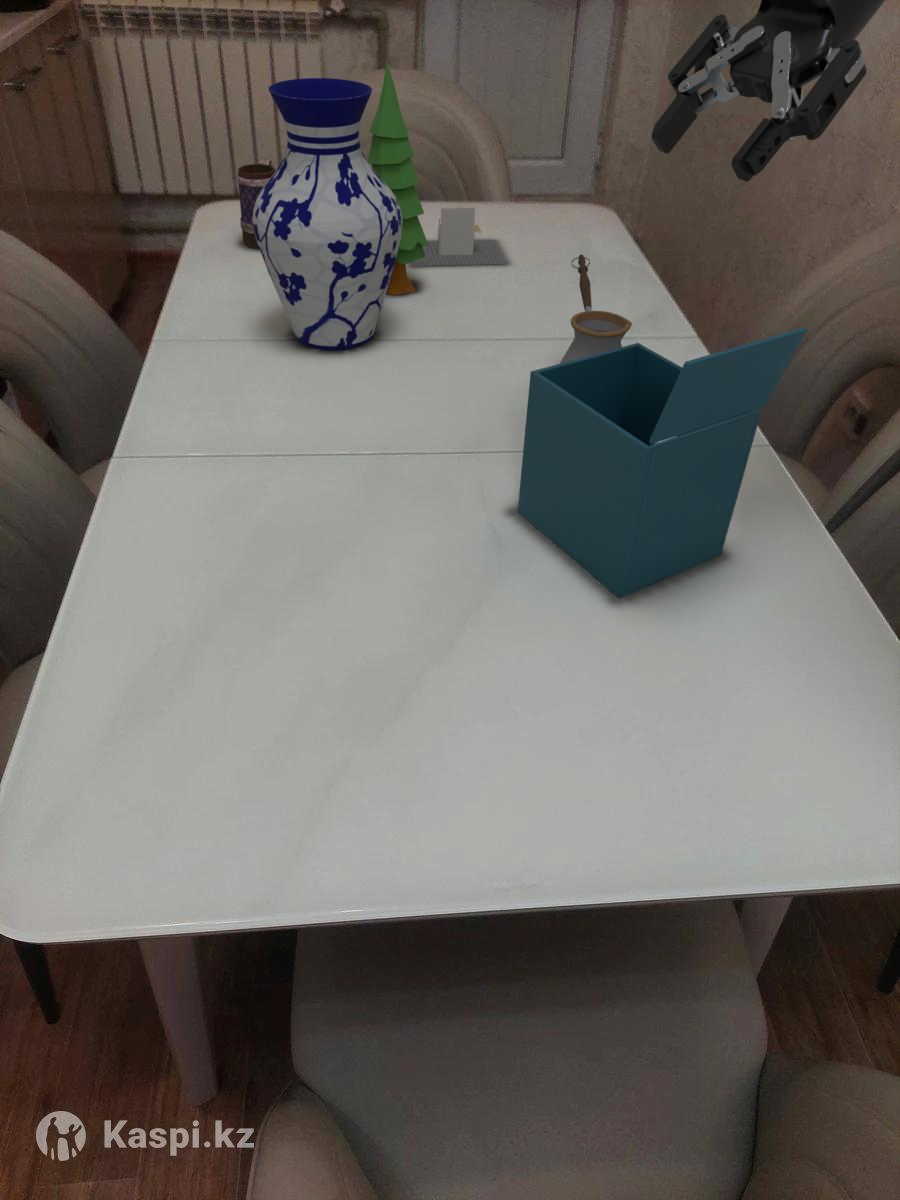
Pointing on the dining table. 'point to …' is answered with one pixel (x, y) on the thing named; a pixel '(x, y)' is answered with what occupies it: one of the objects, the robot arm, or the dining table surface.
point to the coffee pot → (593, 324)
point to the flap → (726, 384)
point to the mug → (252, 195)
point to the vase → (327, 217)
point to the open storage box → (627, 469)
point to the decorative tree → (397, 180)
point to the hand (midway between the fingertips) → (696, 159)
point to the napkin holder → (459, 242)
